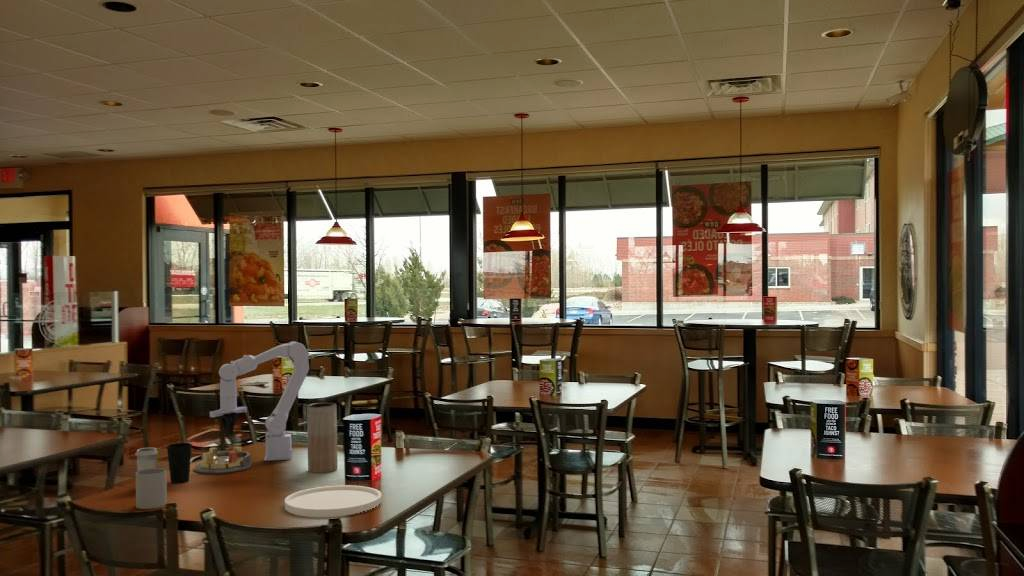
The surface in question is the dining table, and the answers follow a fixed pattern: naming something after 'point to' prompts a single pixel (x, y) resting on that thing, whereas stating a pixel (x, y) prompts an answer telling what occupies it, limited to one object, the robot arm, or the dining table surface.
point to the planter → (322, 437)
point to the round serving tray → (245, 465)
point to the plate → (332, 501)
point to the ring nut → (234, 457)
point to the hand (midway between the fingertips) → (229, 434)
